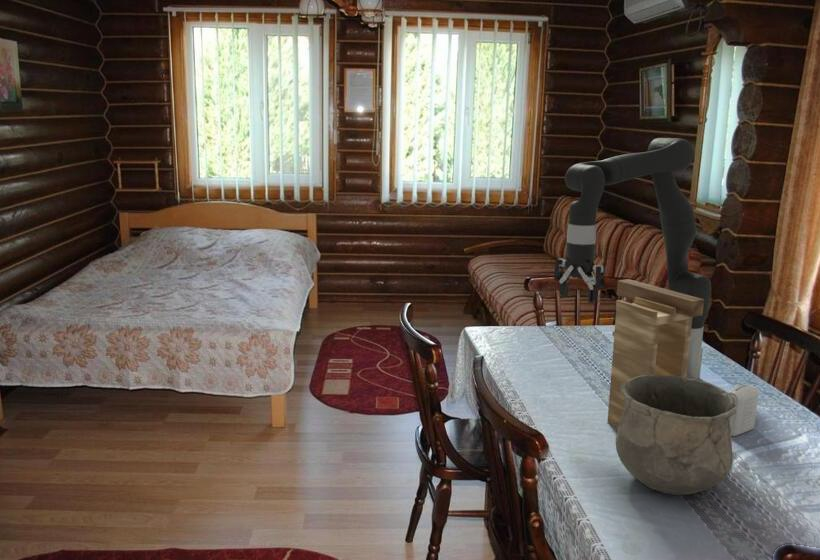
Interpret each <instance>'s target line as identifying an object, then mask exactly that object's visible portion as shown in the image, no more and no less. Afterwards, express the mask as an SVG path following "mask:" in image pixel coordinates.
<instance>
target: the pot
mask: <svg viewBox="0 0 820 560" xmlns="http://www.w3.org/2000/svg"><path fill="white" fill-rule="evenodd" d="M620 389H621V394H622V395H623V396H624V398H625V399H624V401H625V407H624V411H623V414H622V417H621V421H620V424H619V427H618V428H617V431H616V434H615V447H616V448H615V450H616V453H617V456H618V458H619V460H620V461H621V463H622V465H623V466H624V468H625V469H626V471H628V473H629V474H630V475H632V476H633V477H634V478H635V479H637V480H638V481H639V482H641V483H642V484H643V485H645V486H647V487H648V488H650V489H652V490H655V491H657V492H660V493H663V494H667V495H677V496H679V495H680V496H681V495H682V496H684V495H691V494H696V493H699V492H702V491H706V490H709V489H711V488H713V487H715V486H717V485H718V484H719V483H721V482H722V481H724V480H725V479H726V478H727V476H728V475H729V473H730V472H731V470H732V469H733V462H734V455H733V442H732V436H731V426H730V417H731V416H732V415H734V414H736V412H737V411H736V409H732V408H734V407H735V406H736V405H735V399H734V397H733V396H731V395H730V394H728V392H727V391H726V390H724V389H723V388H721V387H719V386H717V385H715V384H712V383H710V382H708V381H703V380H700V379H698V380H697V379H689V378H685V379H684V380H683V378H682V377H680V376H672V375H668V376H667V375H642V376H637V377H634V378H633V379H630V380H627V382H626V383H623V384H622V385H621V388H620Z"/></svg>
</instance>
